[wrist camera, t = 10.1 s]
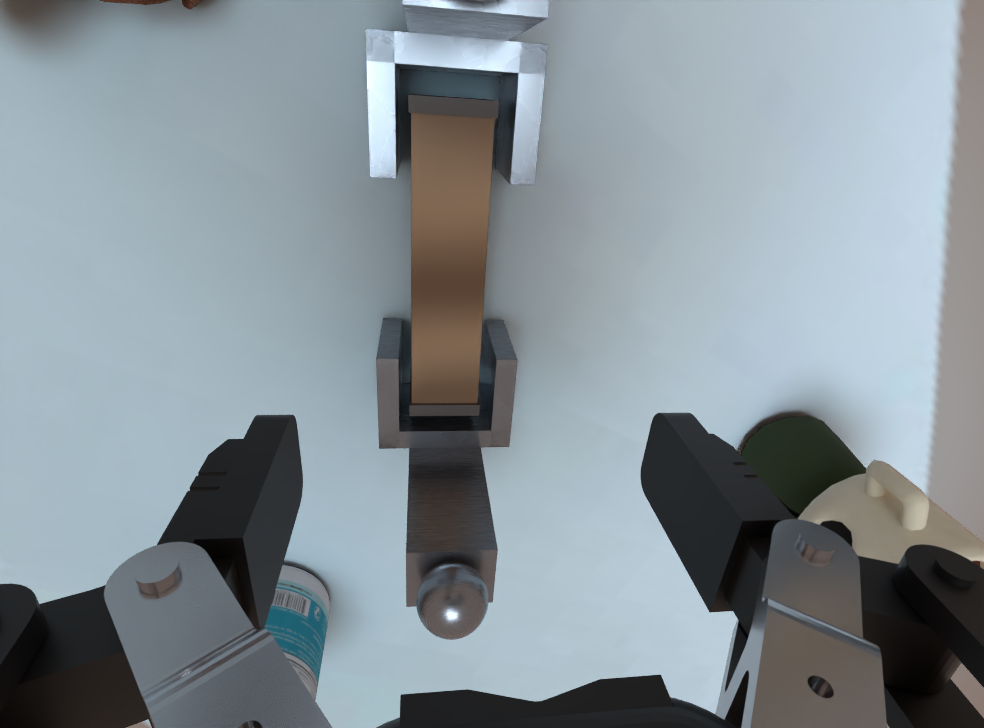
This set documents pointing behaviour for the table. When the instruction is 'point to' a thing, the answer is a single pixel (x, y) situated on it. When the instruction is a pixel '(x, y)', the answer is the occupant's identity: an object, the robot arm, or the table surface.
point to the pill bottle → (300, 622)
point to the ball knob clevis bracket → (457, 439)
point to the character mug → (851, 493)
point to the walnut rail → (448, 249)
